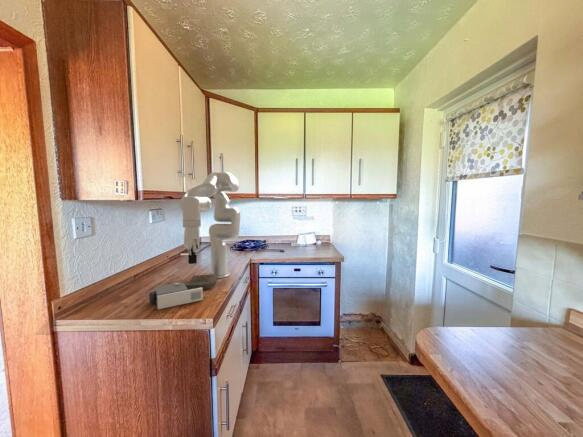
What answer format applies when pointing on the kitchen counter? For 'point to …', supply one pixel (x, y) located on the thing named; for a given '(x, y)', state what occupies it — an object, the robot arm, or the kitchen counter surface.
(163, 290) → the camera housing
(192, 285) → the marble piece
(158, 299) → the side door
